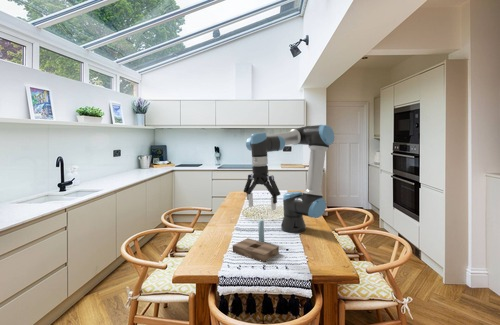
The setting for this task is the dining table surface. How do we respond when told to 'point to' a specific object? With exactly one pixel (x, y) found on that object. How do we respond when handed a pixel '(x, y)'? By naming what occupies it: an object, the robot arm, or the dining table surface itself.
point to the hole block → (256, 249)
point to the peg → (261, 230)
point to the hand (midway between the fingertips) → (262, 208)
